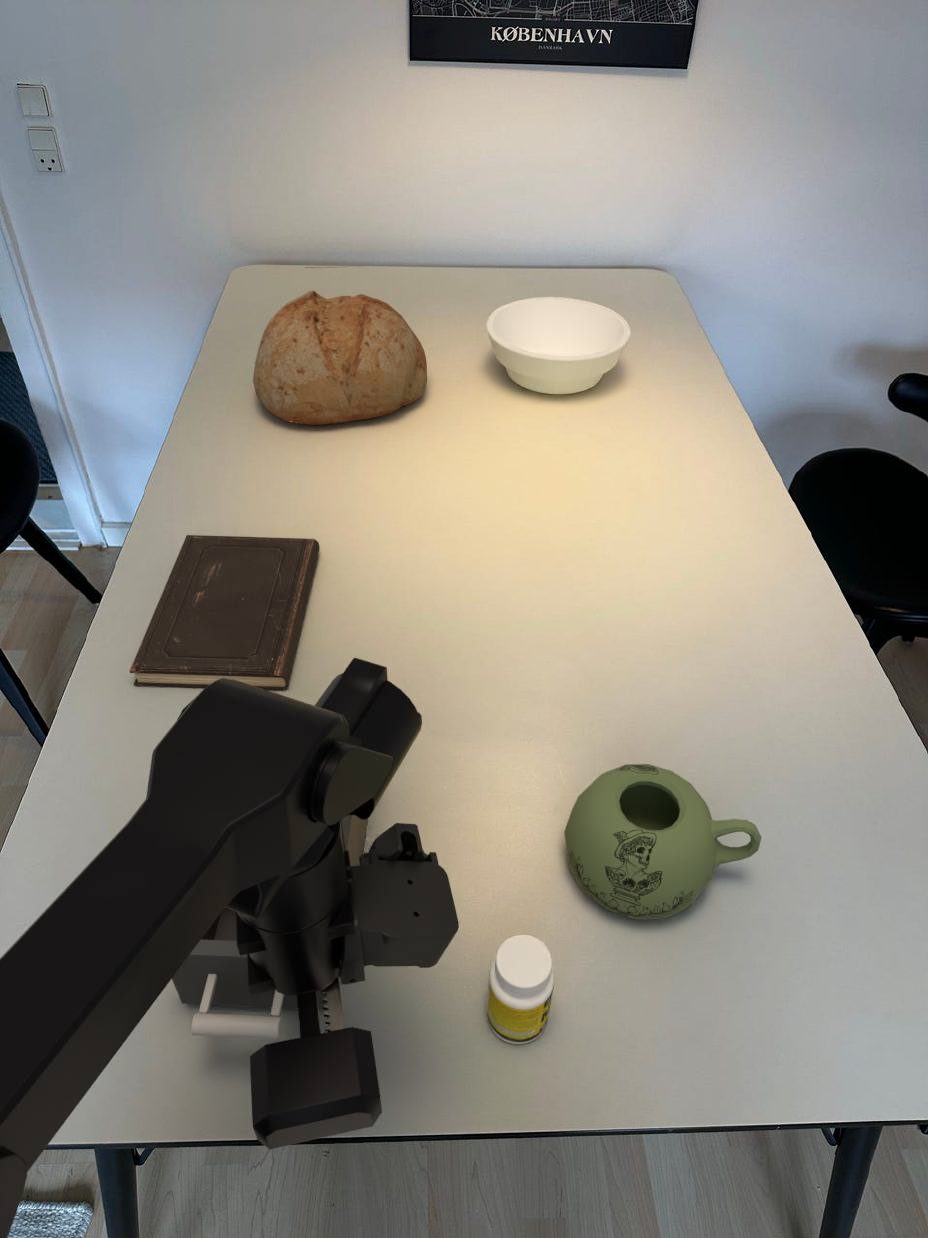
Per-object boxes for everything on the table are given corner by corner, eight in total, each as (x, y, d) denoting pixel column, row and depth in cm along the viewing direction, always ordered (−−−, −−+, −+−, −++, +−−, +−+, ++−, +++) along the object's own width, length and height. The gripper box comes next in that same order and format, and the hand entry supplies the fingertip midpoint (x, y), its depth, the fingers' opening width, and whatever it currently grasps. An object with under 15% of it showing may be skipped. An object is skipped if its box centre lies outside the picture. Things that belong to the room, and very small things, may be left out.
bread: (420, 356, 150) (419, 265, 140) (436, 428, 133) (436, 331, 123) (259, 363, 147) (245, 271, 137) (253, 438, 130) (238, 340, 120)
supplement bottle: (549, 1046, 67) (559, 994, 61) (486, 1045, 67) (490, 993, 61) (546, 984, 71) (555, 929, 65) (485, 983, 71) (489, 928, 65)
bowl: (580, 335, 157) (585, 287, 151) (650, 394, 142) (659, 343, 136) (461, 357, 150) (462, 308, 144) (522, 421, 135) (526, 369, 129)
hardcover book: (134, 686, 93) (129, 670, 92) (190, 549, 110) (186, 534, 109) (288, 691, 93) (285, 675, 92) (320, 553, 110) (318, 538, 109)
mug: (554, 917, 75) (564, 859, 69) (566, 792, 84) (576, 731, 78) (751, 948, 73) (778, 890, 67) (740, 817, 83) (763, 757, 77)
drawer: (324, 1068, 65) (313, 1021, 60) (166, 1061, 65) (142, 1013, 60) (354, 855, 78) (348, 801, 73) (223, 850, 78) (207, 795, 73)
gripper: (487, 1030, 40) (476, 1153, 51) (414, 722, 54) (417, 869, 64) (232, 1083, 38) (275, 1200, 49) (224, 751, 52) (259, 897, 62)
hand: (316, 1020), depth 56 cm, fingers open, 9 cm apart
